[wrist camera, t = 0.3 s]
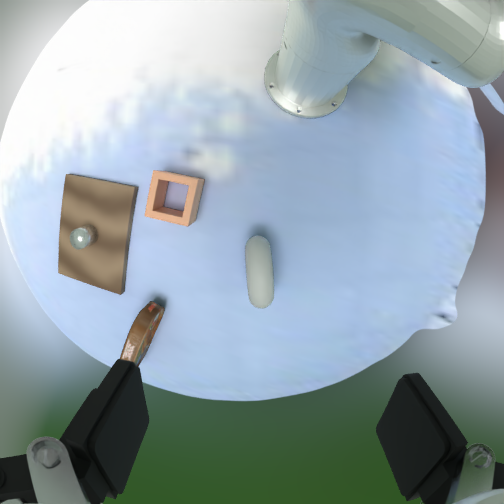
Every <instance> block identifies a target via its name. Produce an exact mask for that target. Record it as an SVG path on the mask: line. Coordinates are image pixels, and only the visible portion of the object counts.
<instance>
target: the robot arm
mask: <svg viewBox="0 0 504 504" xmlns="http://www.w3.org/2000/svg"><path fill="white" fill-rule="evenodd" d="M380 40H382V41H384V42H386V43H388V44H391V45H393V46H395V47H397V48H399V49H401V50H402V51H404V52H406V53H408V54H410V55H411V56H413V57H415V58H416V59H418V60H420V61H421V62H423V63H425V64H426V65H428V66H429V67H431V68H432V69H434V70H436V71H438V72H439V73H441V74H442V75H444V76H445V77H447V78H448V79H450V80H452V81H453V82H455V83H457V84H460V85H462V86H465V87H471V88H477V87H482V86H485V85H487V84H489V83H491V82H492V81H494V80H495V79H496V78H498V77H499V76H500V75H501V74H502V73H503V71H504V0H289V3H288V12H287V17H286V22H285V28H284V33H283V37H282V42H281V47H280V50H279V51H277V52H276V53H275V54H274V55H273V56H272V57H271V58H270V60H269V61H268V63H267V66H266V68H265V74H264V81H265V87H266V89H267V92H268V94H269V96H270V97H271V99H272V100H273V101H274V102H275V103H276V104H277V106H279V107H280V108H281V109H283V110H284V111H286V112H288V113H290V114H292V115H295V116H298V117H303V118H318V117H323V116H325V115H328V114H330V113H332V112H333V111H335V110H336V109H337V108H338V107H339V106H340V105H341V104H342V102H343V101H344V99H345V97H346V94H347V89H348V83H349V82H350V81H351V80H352V79H353V78H354V77H355V76H356V75H357V74H358V73H359V72H360V71H362V70H363V69H364V68H365V67H366V66H367V65H368V64H369V63H370V62H371V61H372V60H373V58H374V57H375V56H376V54H377V52H378V49H379V46H380ZM270 86H273V88H270ZM332 104H334V106H332ZM297 110H299V111H300V113H298V112H297ZM148 424H149V415H148V410H147V406H146V401H145V396H144V391H143V385H142V379H141V373H140V368H139V367H137V366H136V365H135V363H134V362H132V361H127V360H123V359H118V360H117V361H116V362H115V364H114V365H113V366H112V368H111V369H110V371H109V372H108V374H107V375H106V377H105V378H104V380H103V381H102V383H101V384H100V386H99V387H98V389H96V388H95V389H93V390H92V391H91V392H90V394H89V395H88V397H87V399H86V400H85V401H84V403H83V404H82V406H81V407H80V409H79V410H78V412H77V413H76V415H75V416H74V418H73V419H72V421H71V422H70V424H69V426H68V427H67V429H66V430H65V432H64V434H63V435H62V437H61V438H60V440H57V439H55V438H52V437H41V438H38V439H36V440H34V441H32V442H31V444H30V445H29V446H28V449H27V454H24V455H19V456H13V457H6V458H0V504H102V503H103V502H104V499H105V497H106V496H107V497H110V498H113V499H116V497H117V494H118V493H119V494H122V493H123V491H124V489H125V486H126V483H127V480H128V477H129V475H130V472H131V469H132V467H133V464H134V461H135V459H136V456H137V453H138V451H139V448H140V445H141V443H142V440H143V437H144V435H145V432H146V430H147V427H148ZM376 433H377V435H378V438H379V440H380V443H381V445H382V447H383V450H384V452H385V455H386V457H387V460H388V462H389V464H390V467H391V469H392V472H393V474H394V477H395V479H396V482H397V484H398V487H399V490H400V492H401V494H402V495H403V496H405V497H406V500H407V501H410V500H413V499H416V498H418V497H421V499H422V501H421V504H504V464H502V463H497V462H495V455H494V452H493V451H492V449H491V448H490V447H488V446H487V445H484V444H480V443H476V444H473V445H471V446H469V448H468V449H466V447H465V446H466V445H467V443H468V442H467V441H466V439H465V437H464V436H463V434H462V433H461V431H460V430H459V428H458V427H457V425H456V424H455V422H454V421H453V420H452V418H451V417H450V415H449V414H448V413H447V411H446V410H445V408H444V407H443V406H442V404H441V402H440V401H439V400H438V398H437V397H436V396H435V394H434V393H433V391H432V390H431V389H430V387H429V386H428V385H427V383H426V382H425V381H424V379H423V378H422V377H421V375H420V374H419V373H413V374H405V375H403V377H402V378H401V379H400V380H399V381H398V383H397V385H396V387H395V390H394V392H393V394H392V396H391V398H390V401H389V402H388V405H387V407H386V409H385V411H384V413H383V415H382V417H381V419H380V421H379V423H378V424H377V427H376Z"/></svg>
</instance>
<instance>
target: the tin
mask: <svg viewBox="0 0 504 504" xmlns="http://www.w3.org/2000/svg"><path fill="white" fill-rule="evenodd" d="M163 313H164V307H161V306H160V305H158V304H156V303H154V302H152V301H150V302H149V303H148V304H147V305H146V306H145V307H144V308H143V309H142V310H141V311H140V312H139V314H138V316H137V317H136V319H135V320H134V322H133V324H132V326H131V329H130V331H129V333H128V336H127V339H126V342H125V344H124V347H123V350H122V353H121V357H120V359H123V360H127V361H132V362H134V363H135V365H136V366H137V367H138V366H139V365H140V363H141V361H142V360H143V358H144V356H145V354H146V352H147V350H148V348H149V346H150V344H151V341H152V339H153V337H154V334H155V332H156V330H157V327H158V325H159V323H160V321H161V318H162V316H163Z"/></svg>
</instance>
